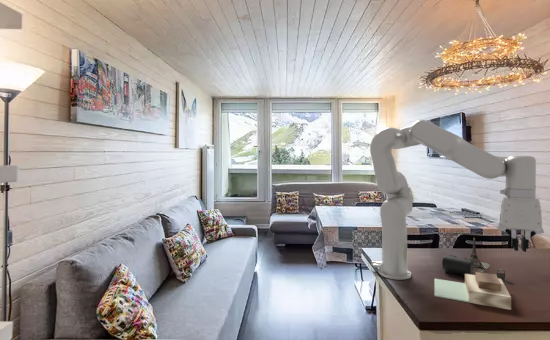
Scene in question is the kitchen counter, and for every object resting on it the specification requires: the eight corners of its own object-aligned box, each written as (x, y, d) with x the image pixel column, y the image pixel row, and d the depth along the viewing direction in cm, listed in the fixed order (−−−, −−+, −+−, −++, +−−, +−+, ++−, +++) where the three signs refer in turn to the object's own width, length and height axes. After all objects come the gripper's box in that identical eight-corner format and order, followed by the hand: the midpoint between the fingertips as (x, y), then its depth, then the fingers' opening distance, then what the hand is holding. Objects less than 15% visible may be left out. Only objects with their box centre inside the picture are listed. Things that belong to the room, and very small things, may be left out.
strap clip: (489, 276, 120) (489, 265, 120) (498, 276, 119) (498, 265, 119) (502, 284, 111) (502, 273, 111) (511, 285, 111) (511, 274, 111)
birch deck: (468, 302, 98) (469, 290, 97) (464, 284, 112) (464, 273, 112) (511, 310, 92) (511, 297, 92) (501, 289, 106) (501, 278, 106)
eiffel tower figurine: (483, 273, 123) (484, 241, 123) (456, 267, 131) (456, 237, 130) (493, 264, 133) (493, 235, 132) (467, 259, 140) (467, 231, 140)
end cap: (441, 273, 123) (441, 257, 123) (446, 268, 128) (446, 253, 128) (470, 279, 116) (470, 262, 116) (474, 274, 121) (474, 258, 121)
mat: (434, 296, 102) (434, 295, 102) (434, 279, 116) (434, 278, 116) (470, 302, 97) (470, 301, 97) (466, 284, 111) (466, 283, 111)
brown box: (478, 288, 99) (478, 280, 99) (475, 278, 107) (475, 271, 107) (501, 291, 96) (501, 284, 96) (496, 281, 104) (496, 274, 104)
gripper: (492, 194, 97) (492, 250, 98) (556, 196, 90) (555, 256, 90) (489, 191, 104) (488, 244, 104) (547, 193, 96) (547, 250, 97)
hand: (519, 249), depth 97 cm, fingers closed
